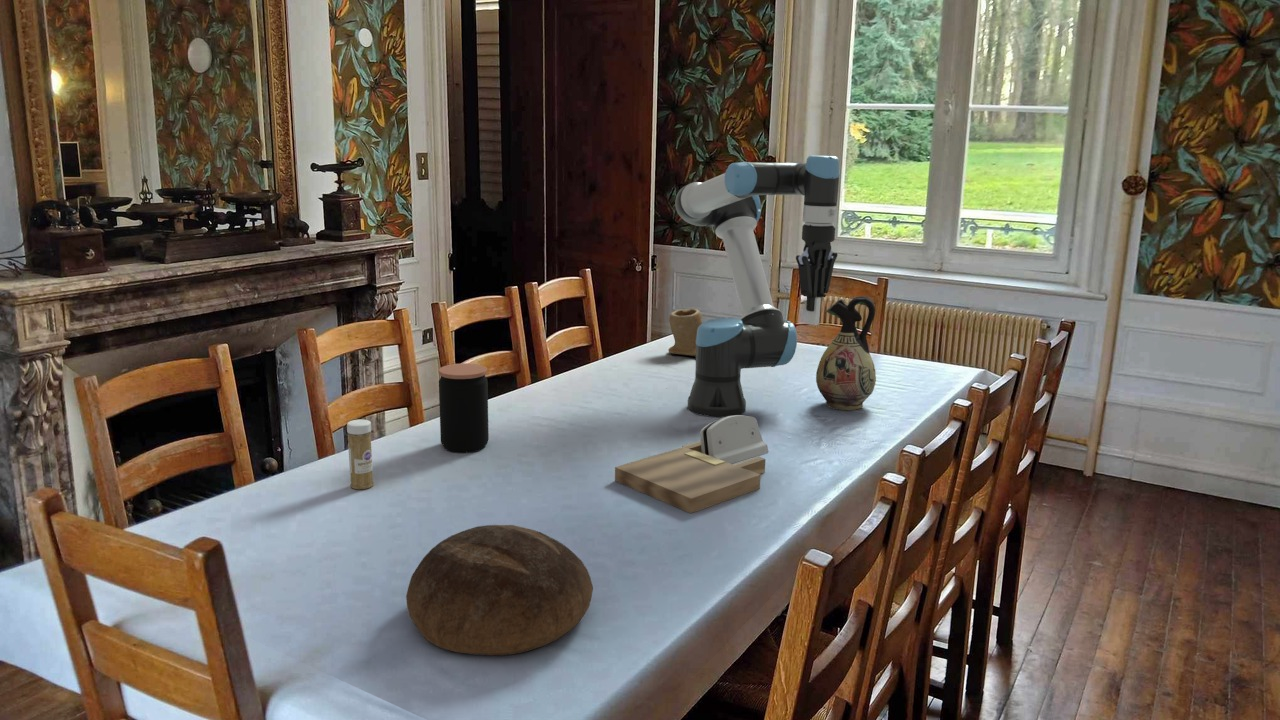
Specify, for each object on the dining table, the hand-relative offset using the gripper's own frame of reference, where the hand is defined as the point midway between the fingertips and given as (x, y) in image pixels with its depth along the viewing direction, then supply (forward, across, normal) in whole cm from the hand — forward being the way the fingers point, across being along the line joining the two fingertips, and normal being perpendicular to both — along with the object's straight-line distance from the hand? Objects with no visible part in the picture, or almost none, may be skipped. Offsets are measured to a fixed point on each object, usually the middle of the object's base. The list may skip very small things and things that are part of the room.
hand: (812, 324), depth 225 cm
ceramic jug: (+27, +25, +6) cm, 37 cm away
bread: (+27, -107, -27) cm, 114 cm away
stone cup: (+27, +33, +72) cm, 84 cm away
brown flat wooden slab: (+26, -44, -7) cm, 52 cm away
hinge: (+27, -27, -1) cm, 38 cm away
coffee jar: (+27, -70, +42) cm, 86 cm away
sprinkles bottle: (+27, -99, +34) cm, 108 cm away
